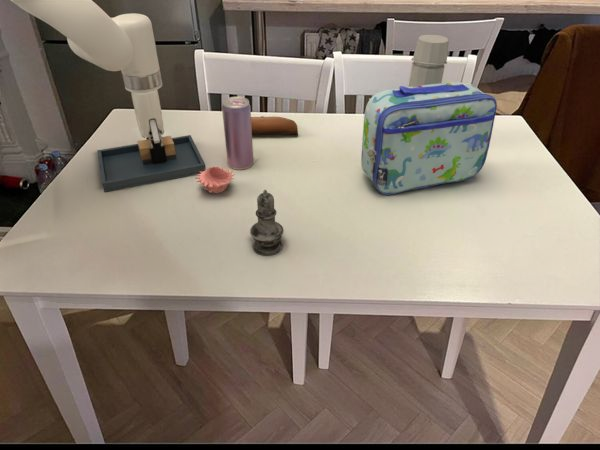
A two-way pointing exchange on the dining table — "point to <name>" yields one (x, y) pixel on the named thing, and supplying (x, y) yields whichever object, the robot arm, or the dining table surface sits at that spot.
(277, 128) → the sunglasses case
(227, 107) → the beverage can
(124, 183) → the tray
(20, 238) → the dining table surface
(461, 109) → the lunch box
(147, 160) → the eraser
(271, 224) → the chess bishop
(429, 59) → the water bottle
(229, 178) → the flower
